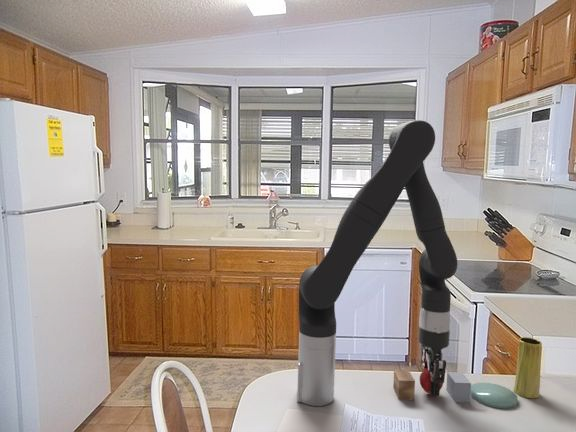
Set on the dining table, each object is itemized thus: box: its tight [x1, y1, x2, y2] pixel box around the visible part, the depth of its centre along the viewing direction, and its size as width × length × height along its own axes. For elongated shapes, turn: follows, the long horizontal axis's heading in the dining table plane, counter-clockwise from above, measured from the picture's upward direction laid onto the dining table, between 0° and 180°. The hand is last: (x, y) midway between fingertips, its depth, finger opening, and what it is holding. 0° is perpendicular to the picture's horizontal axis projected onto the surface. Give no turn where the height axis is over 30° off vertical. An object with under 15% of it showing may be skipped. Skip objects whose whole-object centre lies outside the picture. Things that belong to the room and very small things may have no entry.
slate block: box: [445, 371, 472, 403], centre depth 113 cm, size 4×6×5 cm, turn 178°
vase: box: [513, 336, 543, 399], centre depth 115 cm, size 6×6×14 cm
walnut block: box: [392, 369, 416, 401], centre depth 113 cm, size 4×6×5 cm, turn 178°
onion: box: [419, 366, 444, 396], centre depth 113 cm, size 6×6×8 cm
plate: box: [470, 382, 518, 409], centre depth 113 cm, size 11×11×1 cm
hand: (430, 388), depth 113 cm, fingers closed on onion, 6 cm apart
